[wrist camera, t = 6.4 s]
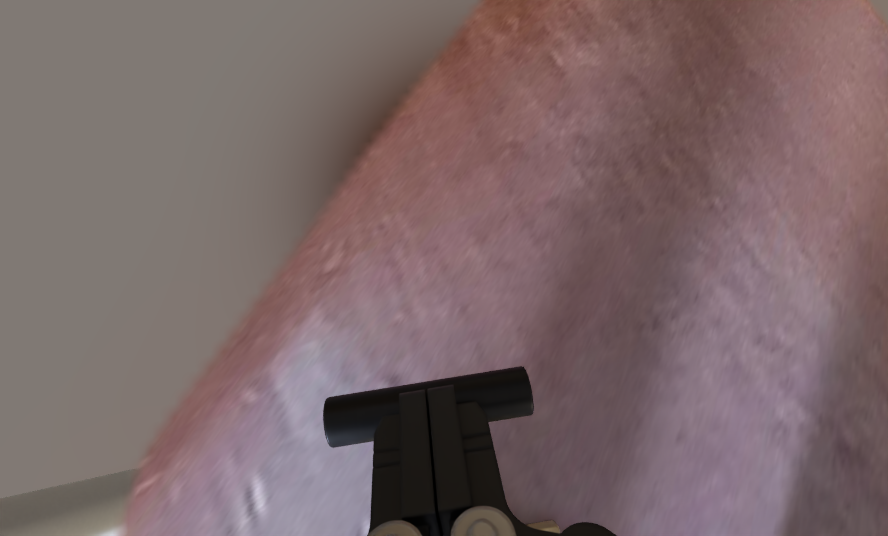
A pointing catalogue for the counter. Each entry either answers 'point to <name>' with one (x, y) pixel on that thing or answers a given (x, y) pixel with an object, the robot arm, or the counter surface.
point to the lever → (491, 390)
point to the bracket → (545, 526)
